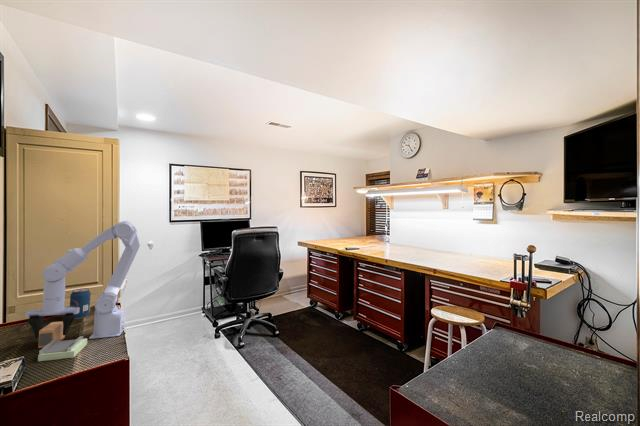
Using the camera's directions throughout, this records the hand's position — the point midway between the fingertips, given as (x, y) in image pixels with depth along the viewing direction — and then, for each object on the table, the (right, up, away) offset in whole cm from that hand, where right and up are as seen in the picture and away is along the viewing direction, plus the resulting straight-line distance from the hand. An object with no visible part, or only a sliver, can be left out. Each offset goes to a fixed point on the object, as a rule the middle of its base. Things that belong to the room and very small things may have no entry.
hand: (52, 335), depth 100 cm
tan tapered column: (0, -3, 0) cm, 3 cm away
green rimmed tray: (+10, -3, -7) cm, 13 cm away
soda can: (-11, -3, +25) cm, 27 cm away
